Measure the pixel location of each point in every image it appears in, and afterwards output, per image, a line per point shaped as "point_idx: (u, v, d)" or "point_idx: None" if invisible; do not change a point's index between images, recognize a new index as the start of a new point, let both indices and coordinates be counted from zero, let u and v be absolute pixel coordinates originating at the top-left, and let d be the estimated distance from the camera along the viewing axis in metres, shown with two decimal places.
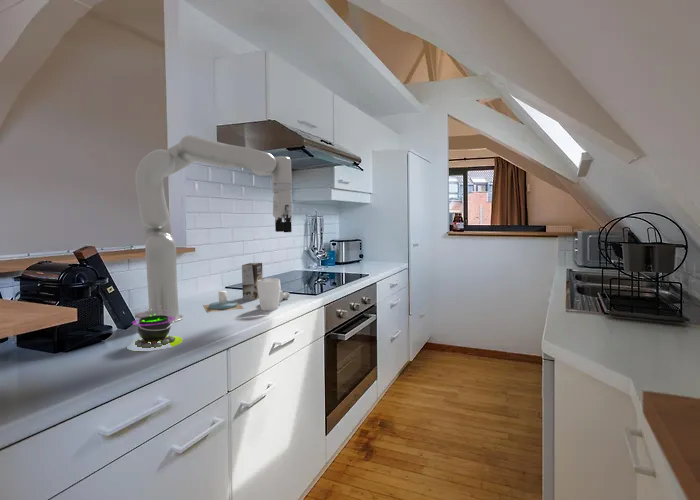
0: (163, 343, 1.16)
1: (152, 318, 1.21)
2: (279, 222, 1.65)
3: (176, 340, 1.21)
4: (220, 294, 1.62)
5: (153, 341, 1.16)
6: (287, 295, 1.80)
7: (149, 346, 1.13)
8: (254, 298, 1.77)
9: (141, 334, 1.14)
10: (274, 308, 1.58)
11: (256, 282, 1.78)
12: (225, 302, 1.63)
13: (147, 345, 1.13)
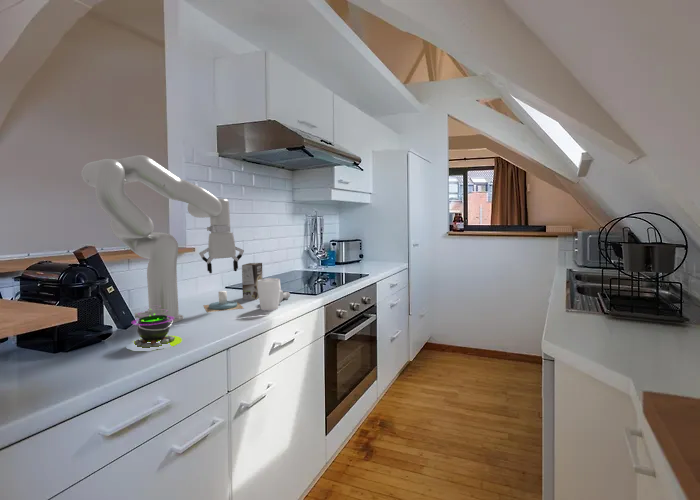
0: (162, 343, 1.16)
1: (151, 318, 1.21)
2: (210, 263, 1.61)
3: (175, 340, 1.21)
4: (220, 294, 1.62)
5: (152, 341, 1.16)
6: (287, 295, 1.81)
7: (149, 346, 1.13)
8: (254, 298, 1.77)
9: (141, 334, 1.15)
10: (274, 308, 1.58)
11: (256, 282, 1.78)
12: (225, 302, 1.63)
13: (147, 345, 1.13)
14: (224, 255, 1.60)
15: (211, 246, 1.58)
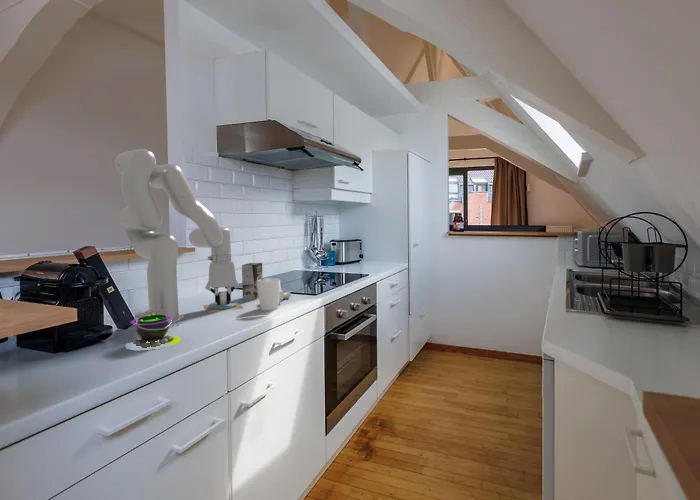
0: (161, 342, 1.17)
1: (150, 318, 1.22)
2: (218, 295, 1.63)
3: (174, 339, 1.21)
4: (220, 294, 1.62)
5: (152, 340, 1.16)
6: (288, 295, 1.81)
7: (148, 345, 1.14)
8: (254, 298, 1.77)
9: (140, 333, 1.15)
10: (274, 308, 1.58)
11: (256, 282, 1.78)
12: (225, 302, 1.63)
13: (146, 344, 1.14)
14: (224, 284, 1.61)
15: (211, 275, 1.59)
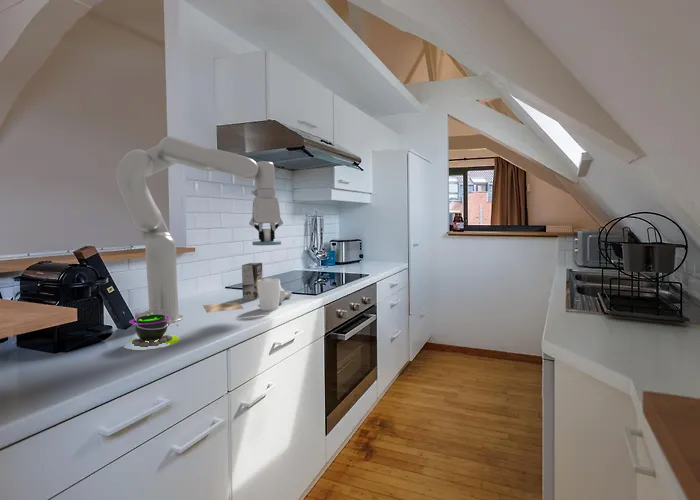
0: (160, 342, 1.17)
1: (149, 317, 1.22)
2: None
3: (173, 339, 1.22)
4: (264, 230, 1.57)
5: (150, 340, 1.17)
6: (289, 294, 1.82)
7: (146, 345, 1.14)
8: (254, 298, 1.77)
9: (138, 333, 1.16)
10: (274, 308, 1.58)
11: (256, 282, 1.78)
12: (269, 239, 1.58)
13: (144, 344, 1.14)
14: (269, 220, 1.55)
15: (256, 210, 1.53)
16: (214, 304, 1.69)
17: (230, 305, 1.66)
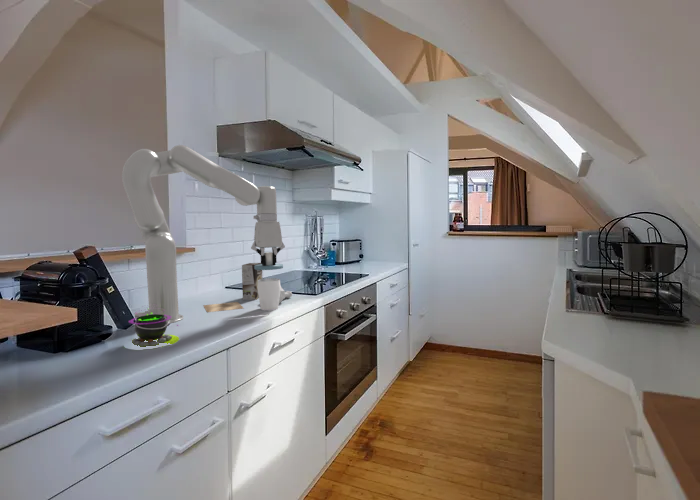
0: (160, 341, 1.18)
1: (149, 317, 1.22)
2: None
3: (173, 339, 1.22)
4: (266, 255, 1.57)
5: (150, 340, 1.17)
6: (289, 294, 1.83)
7: (146, 344, 1.15)
8: (254, 298, 1.77)
9: (138, 333, 1.16)
10: (274, 308, 1.58)
11: (256, 282, 1.78)
12: (271, 263, 1.58)
13: (144, 343, 1.14)
14: (271, 244, 1.56)
15: (258, 235, 1.54)
16: (214, 304, 1.69)
17: (230, 305, 1.66)
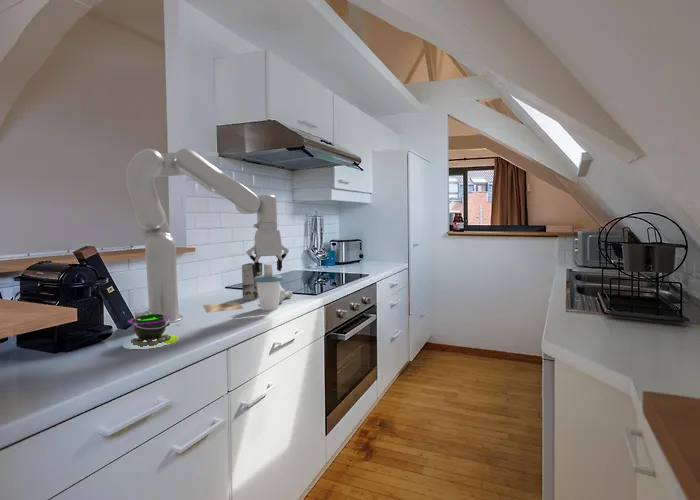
0: (159, 341, 1.18)
1: (148, 317, 1.23)
2: None
3: (172, 338, 1.22)
4: (266, 266, 1.58)
5: (149, 339, 1.17)
6: (290, 294, 1.83)
7: (145, 344, 1.15)
8: (254, 298, 1.77)
9: (137, 332, 1.16)
10: (274, 308, 1.58)
11: (256, 282, 1.78)
12: (271, 275, 1.58)
13: (143, 343, 1.15)
14: (271, 253, 1.56)
15: (258, 243, 1.54)
16: (214, 304, 1.69)
17: (230, 305, 1.66)
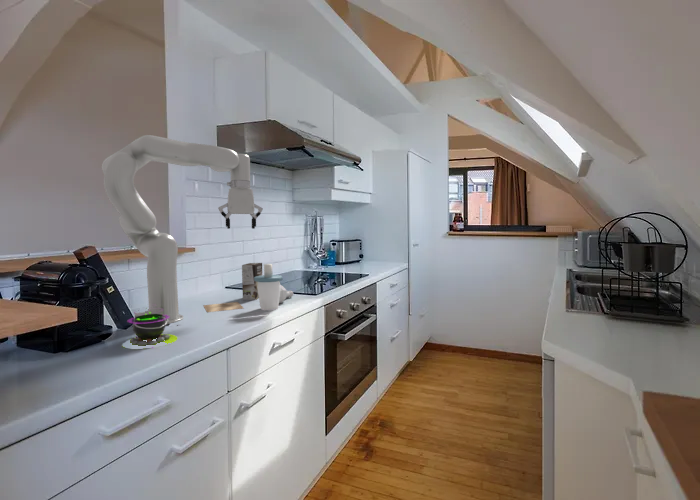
0: (158, 341, 1.18)
1: (147, 316, 1.23)
2: (229, 219, 1.60)
3: (171, 338, 1.23)
4: (266, 266, 1.58)
5: (148, 339, 1.18)
6: (291, 294, 1.84)
7: (144, 344, 1.15)
8: (254, 298, 1.77)
9: (136, 332, 1.16)
10: (274, 308, 1.58)
11: (256, 282, 1.78)
12: (271, 275, 1.58)
13: (142, 343, 1.15)
14: (243, 211, 1.60)
15: (230, 201, 1.58)
16: (214, 304, 1.69)
17: (230, 305, 1.66)
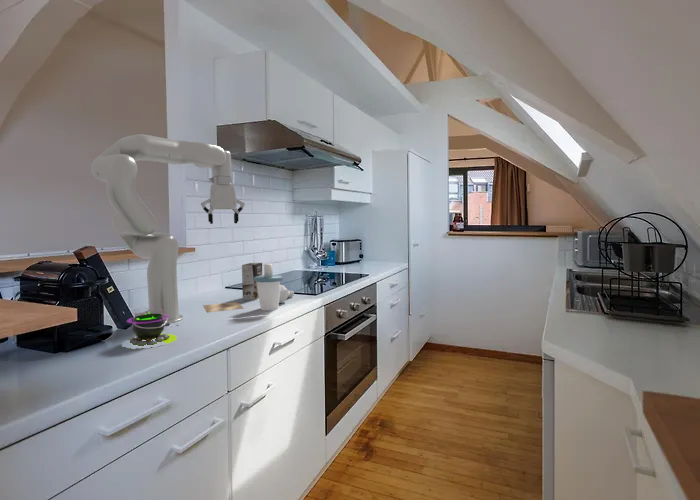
0: (158, 341, 1.19)
1: (146, 316, 1.23)
2: None
3: (170, 338, 1.23)
4: (266, 266, 1.58)
5: (148, 339, 1.18)
6: (291, 293, 1.84)
7: (144, 343, 1.16)
8: (254, 298, 1.77)
9: (136, 332, 1.17)
10: (274, 308, 1.58)
11: (256, 282, 1.78)
12: (271, 275, 1.58)
13: (142, 343, 1.15)
14: (225, 206, 1.63)
15: (212, 196, 1.61)
16: (214, 304, 1.69)
17: (230, 305, 1.66)
